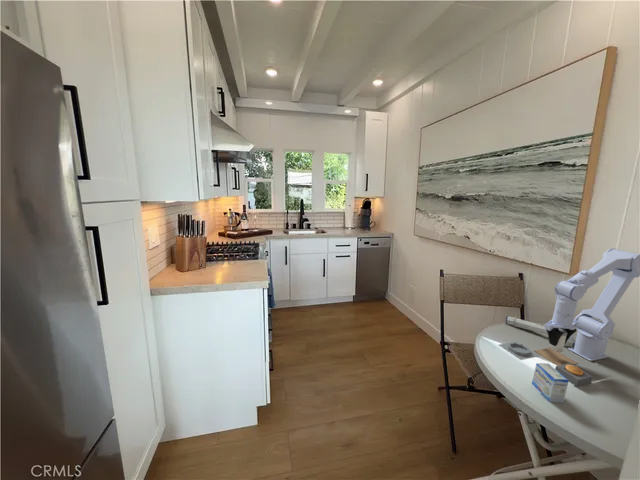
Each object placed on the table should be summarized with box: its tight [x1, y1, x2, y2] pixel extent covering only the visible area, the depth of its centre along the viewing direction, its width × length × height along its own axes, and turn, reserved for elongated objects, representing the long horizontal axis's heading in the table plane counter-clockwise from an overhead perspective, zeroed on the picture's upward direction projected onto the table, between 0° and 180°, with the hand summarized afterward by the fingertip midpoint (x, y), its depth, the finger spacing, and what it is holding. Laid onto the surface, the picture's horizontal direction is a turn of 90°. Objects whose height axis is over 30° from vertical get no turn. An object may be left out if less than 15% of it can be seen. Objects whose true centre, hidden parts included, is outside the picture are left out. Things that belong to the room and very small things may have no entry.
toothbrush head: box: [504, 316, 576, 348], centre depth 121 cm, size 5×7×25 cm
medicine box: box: [531, 362, 570, 404], centre depth 87 cm, size 8×4×9 cm, turn 178°
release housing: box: [554, 363, 594, 388], centre depth 94 cm, size 7×7×3 cm
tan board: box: [533, 347, 579, 366], centre depth 105 cm, size 9×10×1 cm
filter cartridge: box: [548, 328, 567, 353], centre depth 104 cm, size 4×4×8 cm
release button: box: [565, 365, 584, 376], centre depth 94 cm, size 5×5×4 cm
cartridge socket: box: [498, 341, 541, 361], centre depth 110 cm, size 10×10×2 cm
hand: (557, 343), depth 104 cm, fingers closed on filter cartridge, 4 cm apart
